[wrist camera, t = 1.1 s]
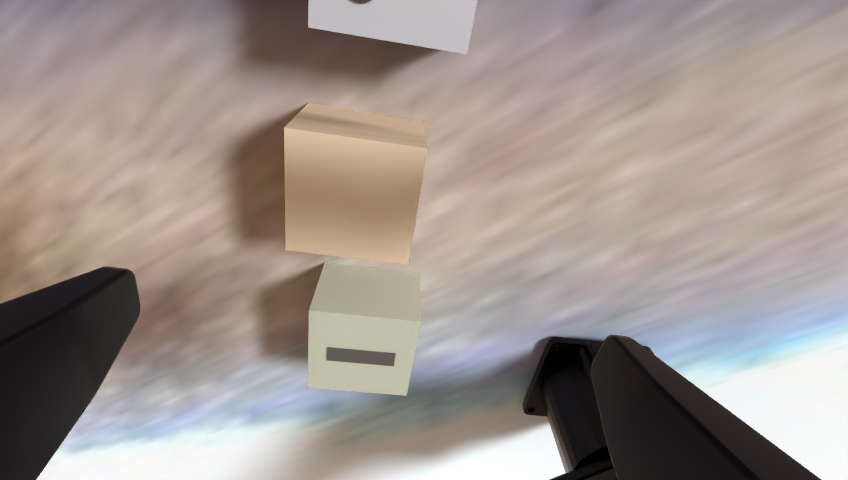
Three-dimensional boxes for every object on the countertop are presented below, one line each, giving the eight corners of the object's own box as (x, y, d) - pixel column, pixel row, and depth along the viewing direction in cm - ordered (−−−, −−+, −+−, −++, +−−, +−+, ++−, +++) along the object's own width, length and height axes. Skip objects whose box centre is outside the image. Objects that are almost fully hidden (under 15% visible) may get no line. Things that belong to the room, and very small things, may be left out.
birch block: (408, 220, 21) (408, 264, 17) (306, 207, 20) (285, 250, 17) (424, 120, 18) (427, 148, 15) (308, 102, 18) (283, 127, 14)
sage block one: (407, 340, 25) (406, 396, 21) (322, 332, 24) (307, 388, 21) (419, 271, 22) (420, 322, 19) (325, 261, 22) (308, 311, 18)
